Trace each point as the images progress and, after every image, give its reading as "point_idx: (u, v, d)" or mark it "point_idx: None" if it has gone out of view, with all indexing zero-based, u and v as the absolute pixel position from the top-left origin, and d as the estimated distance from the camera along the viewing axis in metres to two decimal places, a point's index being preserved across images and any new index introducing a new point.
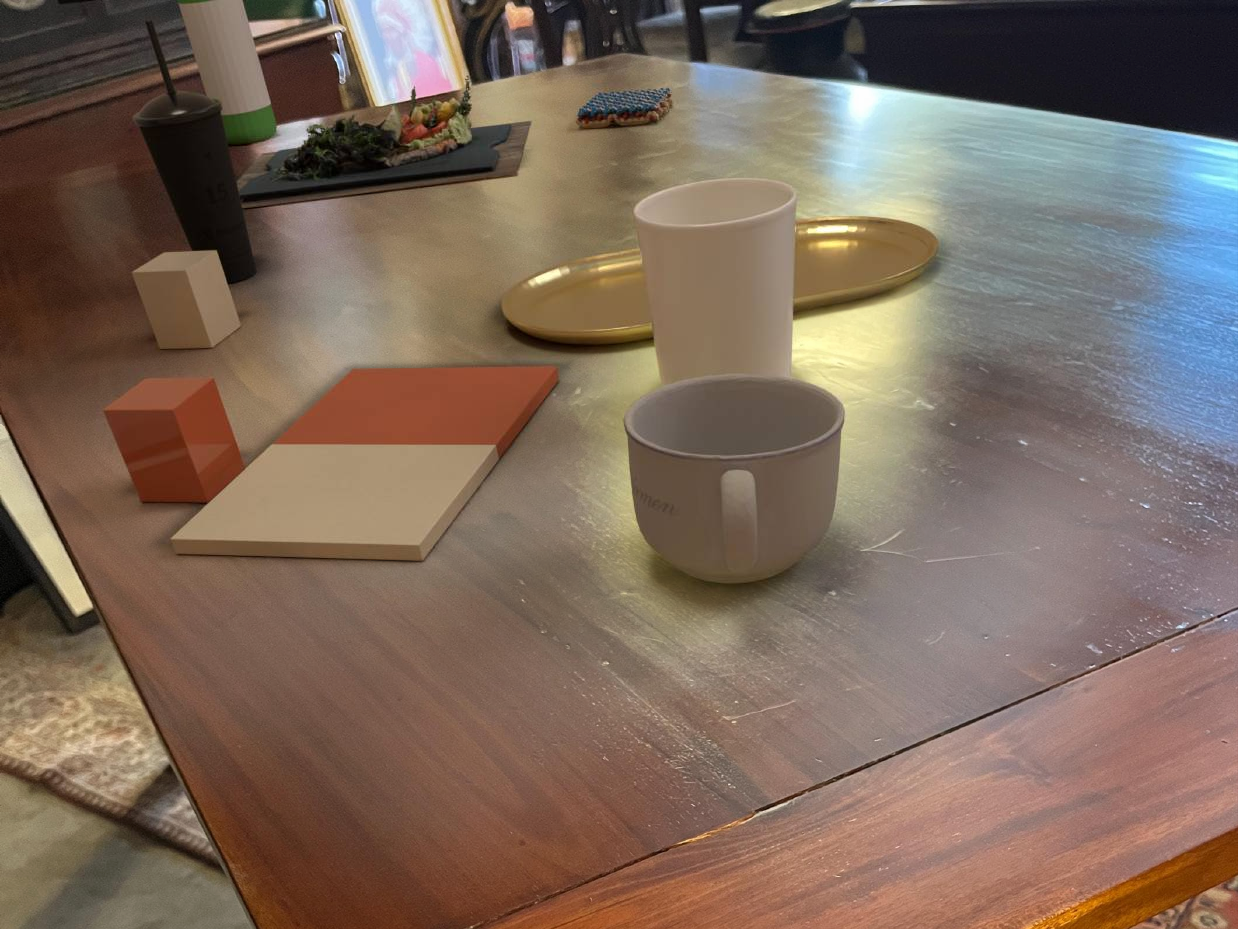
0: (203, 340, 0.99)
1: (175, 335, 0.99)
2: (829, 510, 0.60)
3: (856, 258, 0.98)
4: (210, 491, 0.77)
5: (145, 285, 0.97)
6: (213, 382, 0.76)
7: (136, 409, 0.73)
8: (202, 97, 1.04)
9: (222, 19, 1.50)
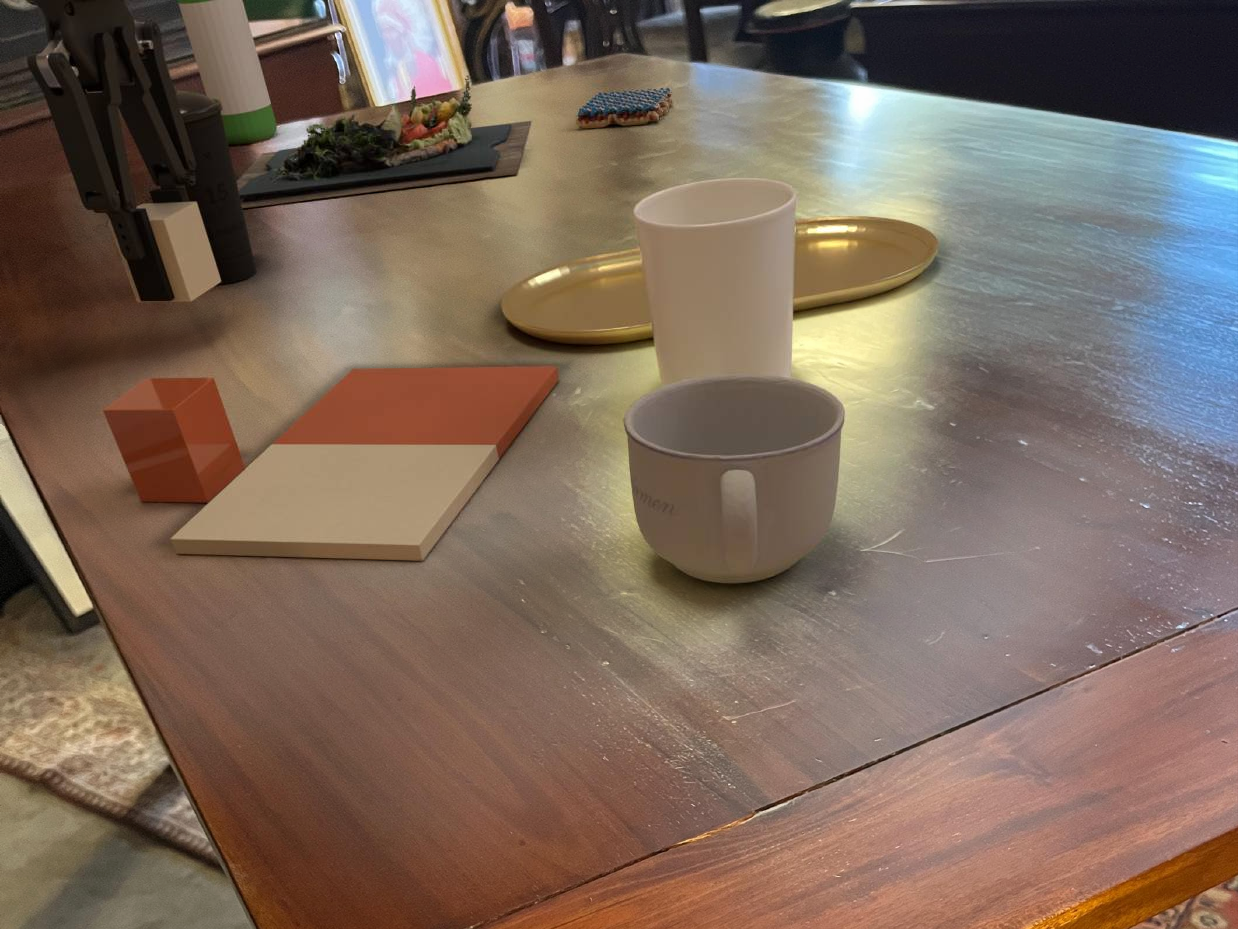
0: (181, 293, 0.96)
1: None
2: (829, 510, 0.60)
3: (856, 258, 0.98)
4: (210, 491, 0.77)
5: None
6: (213, 382, 0.76)
7: (136, 409, 0.73)
8: (202, 97, 1.04)
9: (222, 19, 1.50)
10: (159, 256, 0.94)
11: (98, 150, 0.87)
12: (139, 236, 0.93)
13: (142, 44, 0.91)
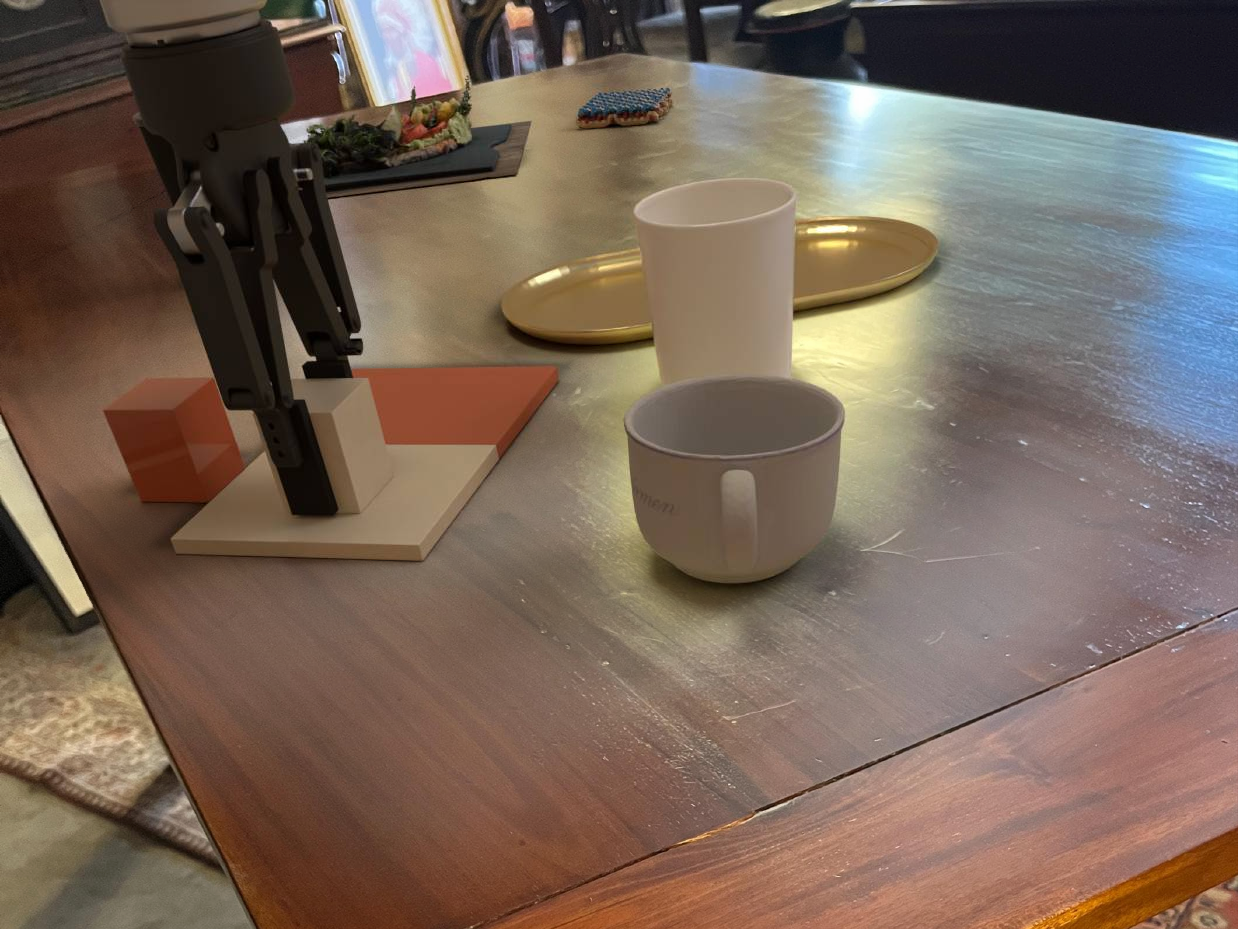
0: (349, 503, 0.70)
1: None
2: (829, 510, 0.60)
3: (856, 258, 0.98)
4: (210, 491, 0.77)
5: None
6: (213, 382, 0.76)
7: (136, 409, 0.73)
8: None
9: None
10: (320, 459, 0.69)
11: (248, 334, 0.61)
12: (296, 436, 0.67)
13: (298, 174, 0.65)
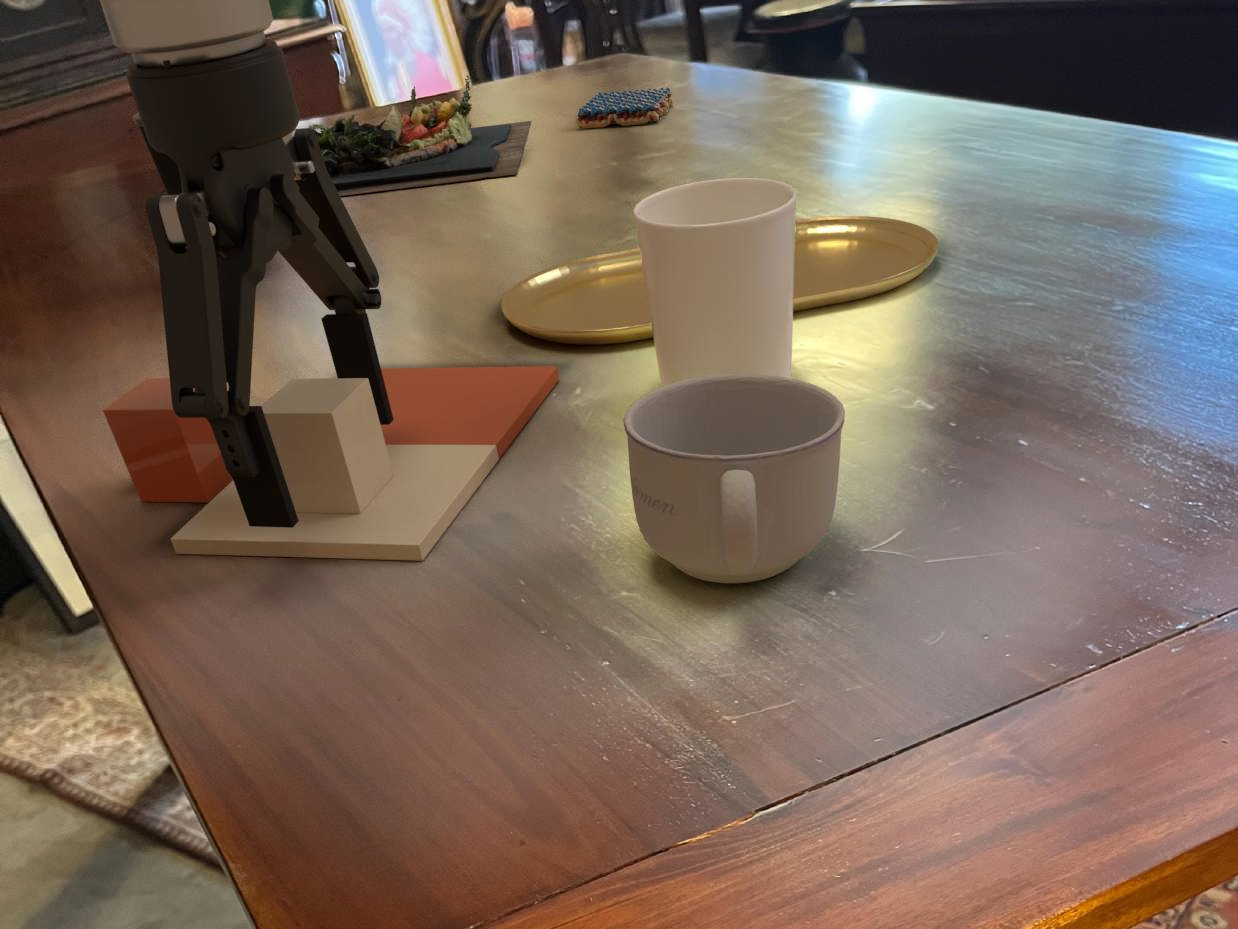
0: (349, 503, 0.70)
1: (308, 496, 0.71)
2: (829, 510, 0.60)
3: (856, 258, 0.98)
4: (210, 491, 0.77)
5: (272, 430, 0.68)
6: None
7: (136, 409, 0.73)
8: None
9: None
10: (279, 468, 0.65)
11: (216, 334, 0.59)
12: (252, 445, 0.64)
13: (300, 169, 0.66)
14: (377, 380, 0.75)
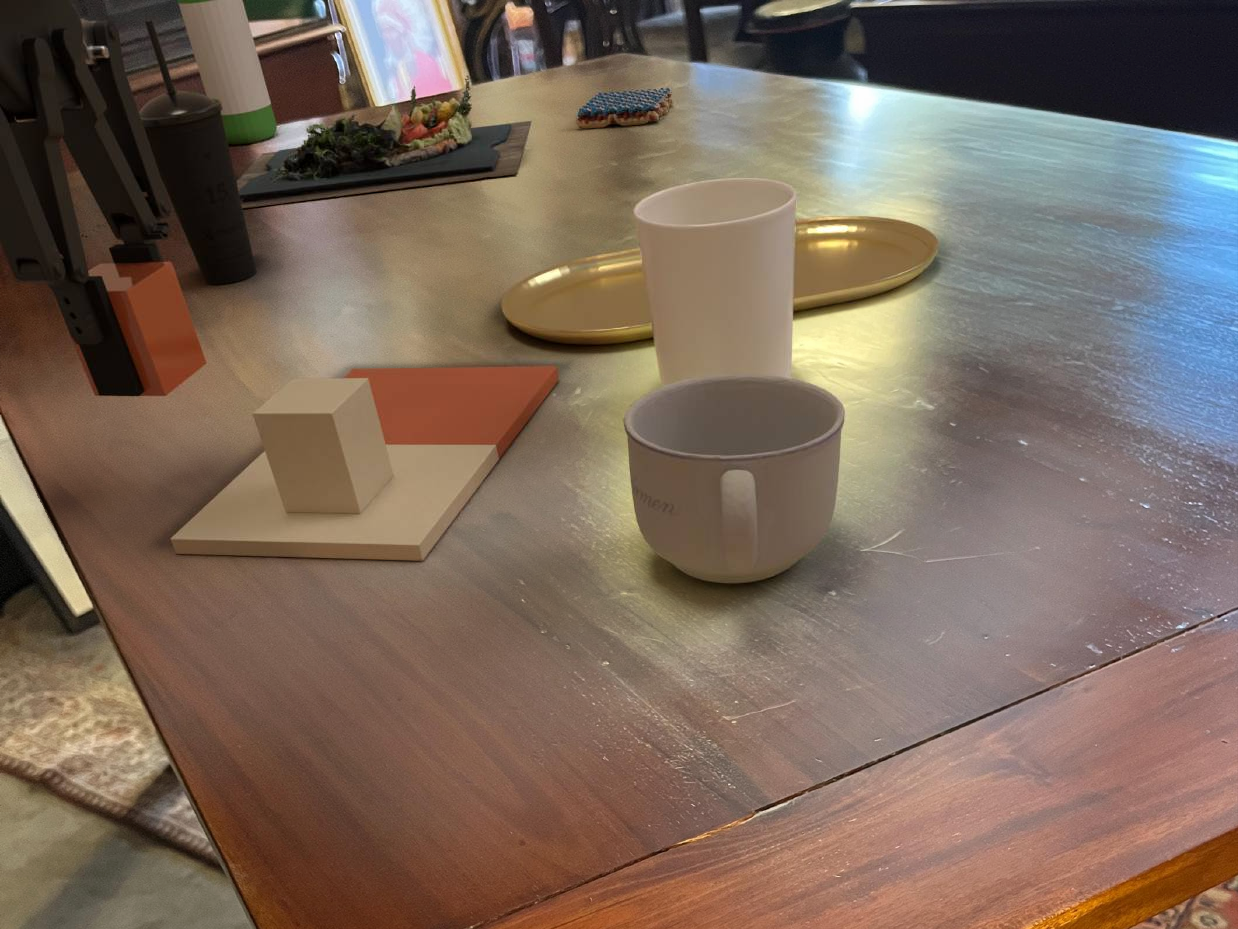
0: (349, 503, 0.70)
1: (308, 496, 0.71)
2: (829, 510, 0.60)
3: (856, 258, 0.98)
4: (168, 384, 0.72)
5: (272, 430, 0.68)
6: (171, 267, 0.72)
7: None
8: (202, 97, 1.04)
9: (222, 19, 1.50)
10: (122, 338, 0.70)
11: (32, 202, 0.63)
12: (94, 313, 0.69)
13: (93, 51, 0.67)
14: None
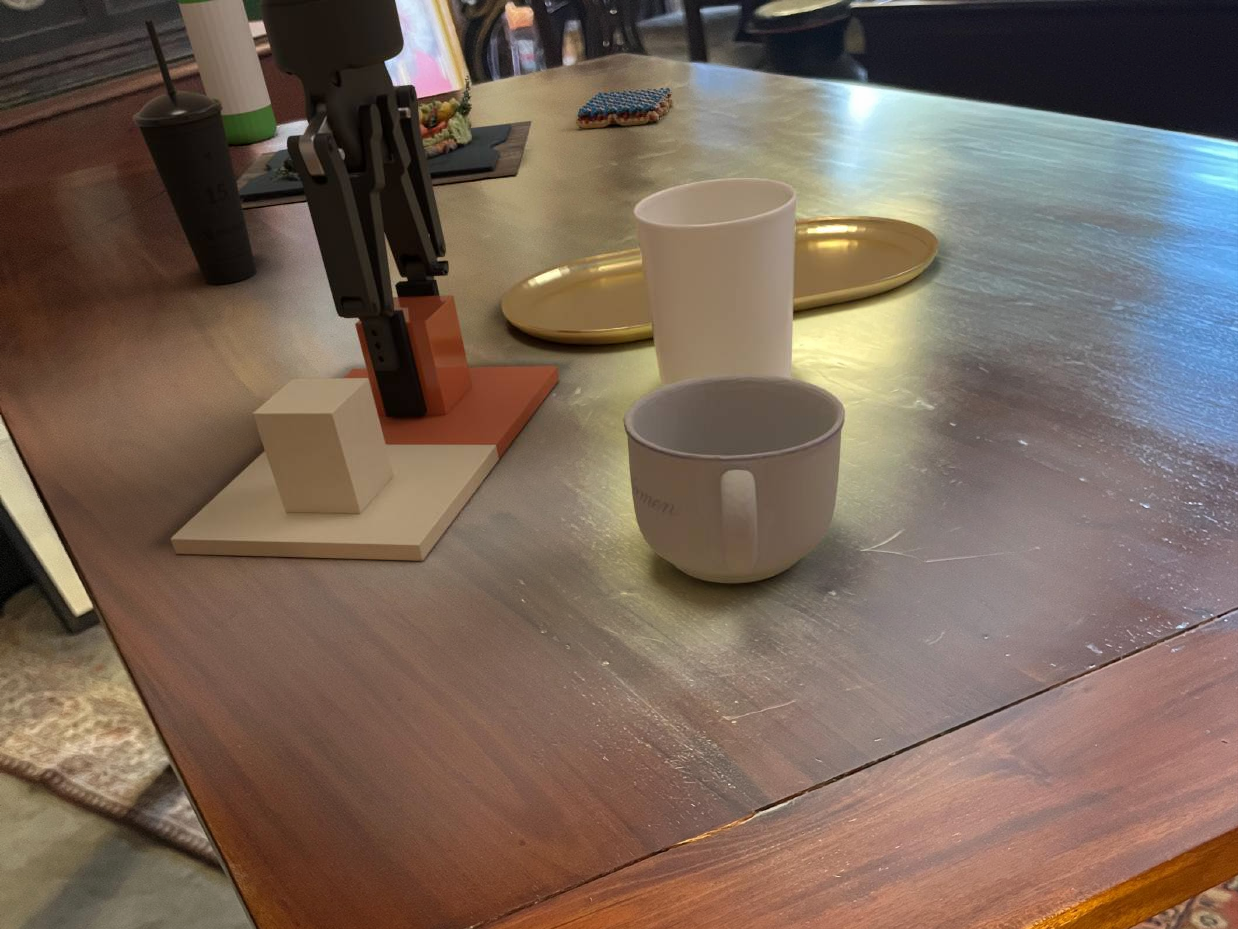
0: (349, 503, 0.70)
1: (308, 496, 0.71)
2: (829, 510, 0.60)
3: (856, 258, 0.98)
4: (448, 404, 0.81)
5: (272, 430, 0.68)
6: (453, 300, 0.80)
7: None
8: (202, 97, 1.04)
9: (222, 19, 1.50)
10: (414, 365, 0.78)
11: (361, 247, 0.71)
12: (394, 343, 0.77)
13: None
14: None
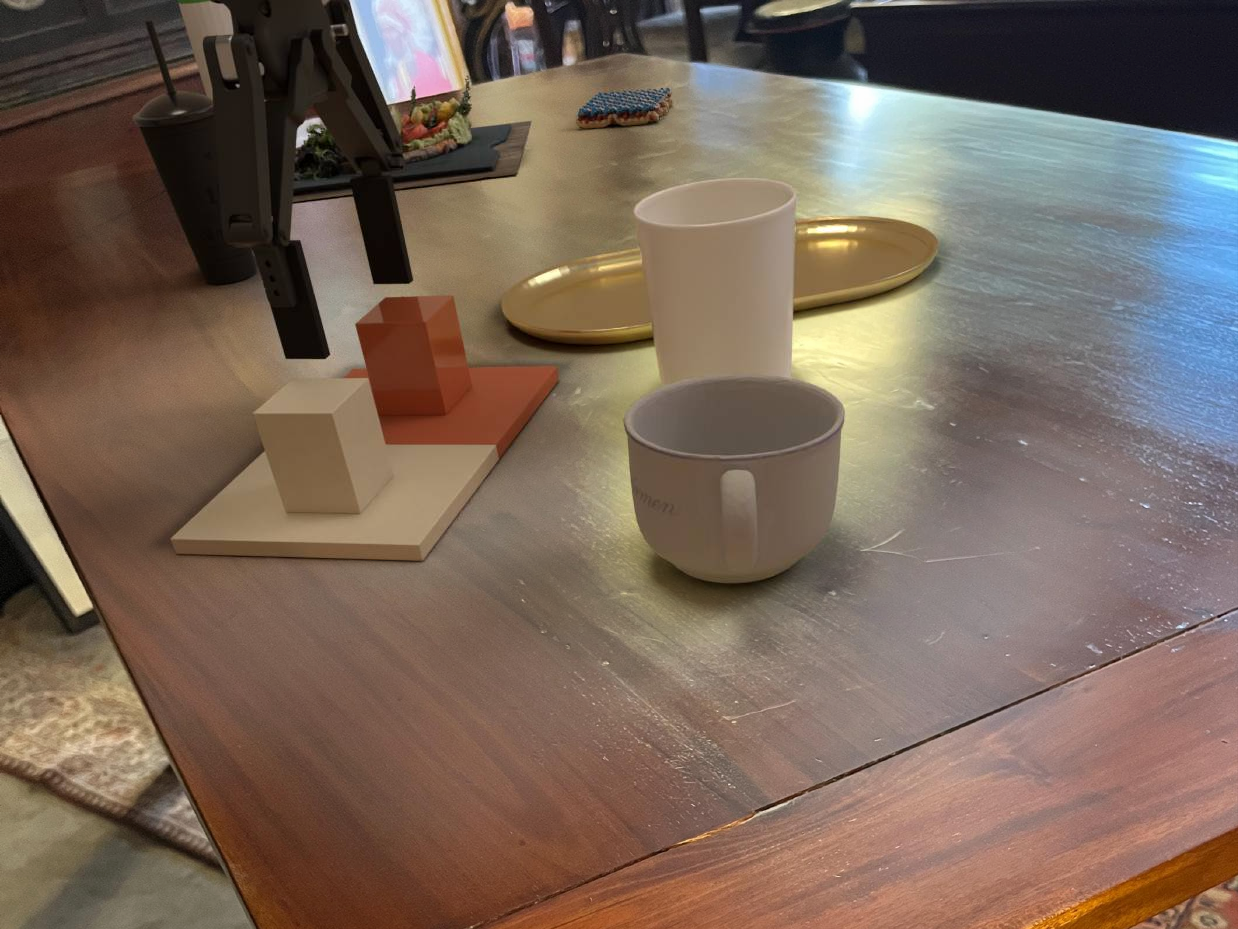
0: (349, 503, 0.70)
1: (308, 496, 0.71)
2: (829, 510, 0.60)
3: (856, 258, 0.98)
4: (448, 404, 0.81)
5: (272, 430, 0.68)
6: (453, 300, 0.80)
7: (389, 323, 0.77)
8: (202, 97, 1.04)
9: (222, 19, 1.50)
10: (314, 302, 0.72)
11: (263, 166, 0.66)
12: (291, 276, 0.70)
13: (335, 31, 0.73)
14: (399, 240, 0.81)
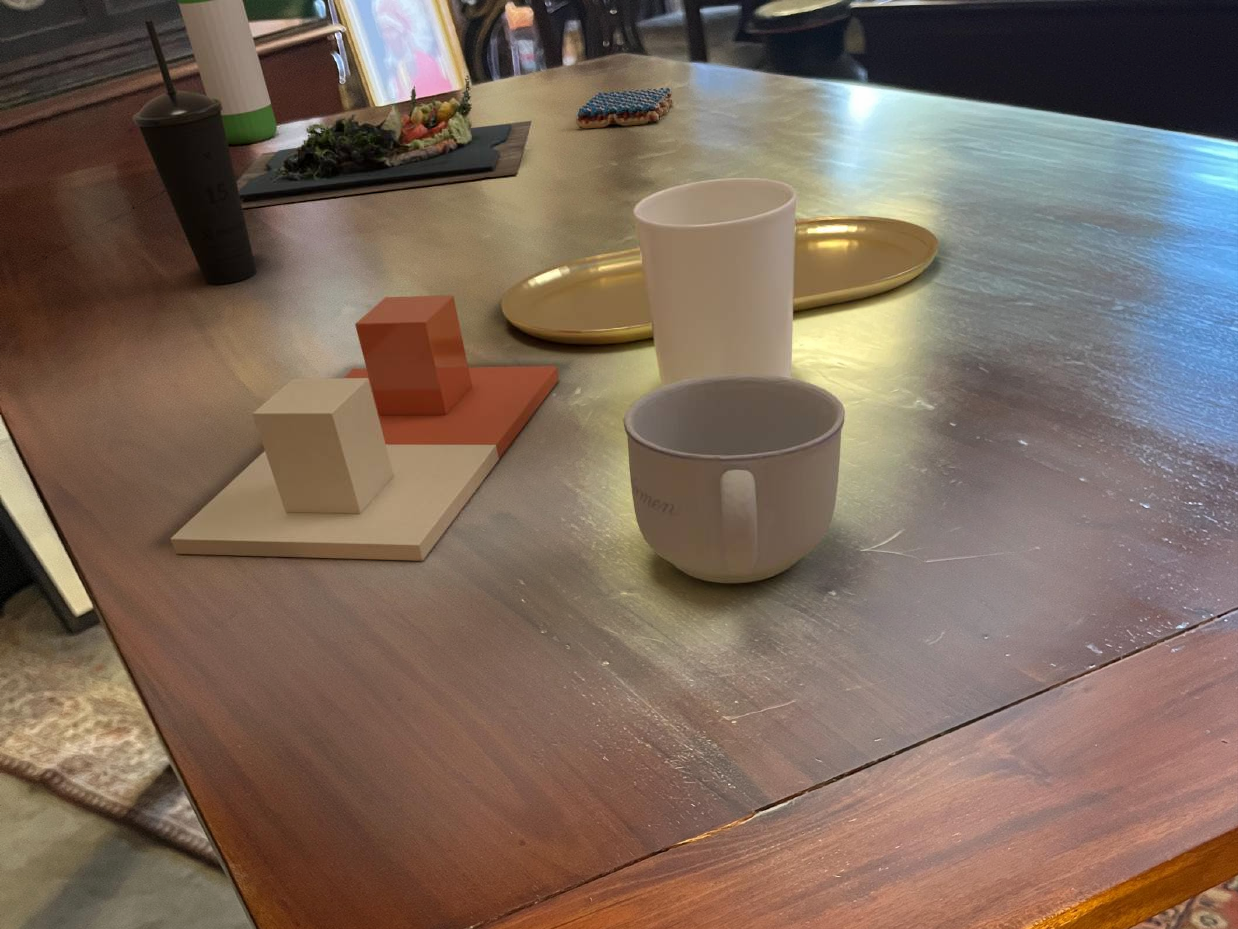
0: (349, 503, 0.70)
1: (308, 496, 0.71)
2: (829, 510, 0.60)
3: (856, 258, 0.98)
4: (448, 404, 0.81)
5: (272, 430, 0.68)
6: (453, 300, 0.80)
7: (389, 323, 0.77)
8: (202, 97, 1.04)
9: (222, 19, 1.50)
10: None
11: None
12: None
13: None
14: None
